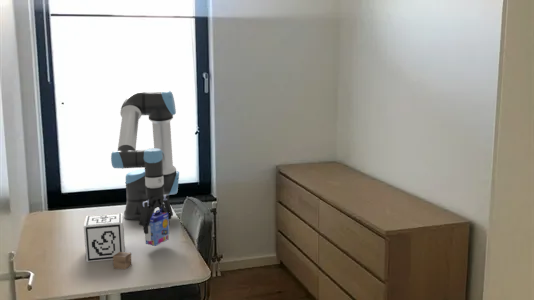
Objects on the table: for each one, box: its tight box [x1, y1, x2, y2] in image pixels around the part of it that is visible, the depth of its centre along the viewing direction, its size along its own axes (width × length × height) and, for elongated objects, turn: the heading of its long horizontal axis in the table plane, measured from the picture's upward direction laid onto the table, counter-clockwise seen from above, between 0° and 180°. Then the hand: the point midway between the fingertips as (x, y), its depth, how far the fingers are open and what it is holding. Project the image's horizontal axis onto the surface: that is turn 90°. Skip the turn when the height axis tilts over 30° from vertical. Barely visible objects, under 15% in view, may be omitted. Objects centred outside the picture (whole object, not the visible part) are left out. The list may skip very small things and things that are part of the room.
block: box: [83, 212, 126, 263], centre depth 243 cm, size 15×15×15 cm
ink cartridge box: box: [145, 208, 170, 247], centre depth 248 cm, size 10×6×14 cm, turn 152°
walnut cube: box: [112, 251, 132, 270], centre depth 229 cm, size 5×5×5 cm
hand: (157, 236), depth 248 cm, fingers closed on ink cartridge box, 10 cm apart
